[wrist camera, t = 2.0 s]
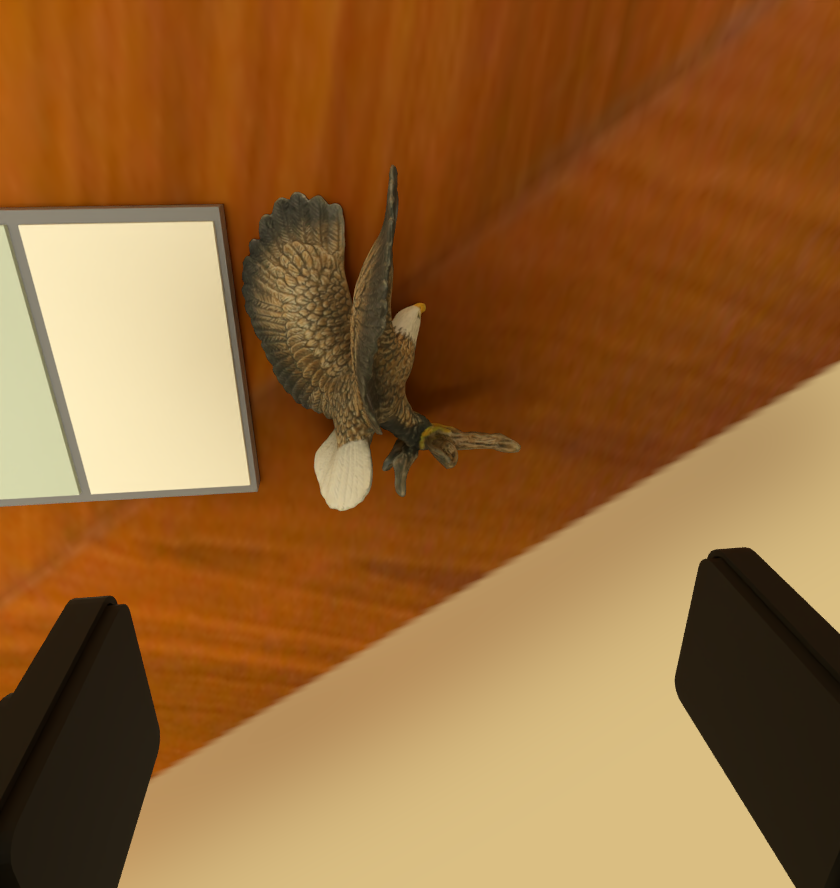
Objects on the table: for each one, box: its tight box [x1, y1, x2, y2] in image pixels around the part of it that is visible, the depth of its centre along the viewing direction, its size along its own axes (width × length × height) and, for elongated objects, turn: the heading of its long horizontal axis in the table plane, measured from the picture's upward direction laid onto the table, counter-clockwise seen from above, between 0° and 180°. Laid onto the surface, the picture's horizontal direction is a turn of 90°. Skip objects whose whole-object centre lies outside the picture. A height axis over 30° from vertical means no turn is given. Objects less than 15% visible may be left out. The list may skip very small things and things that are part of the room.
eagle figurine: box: [242, 165, 521, 511], centre depth 20 cm, size 8×7×9 cm
